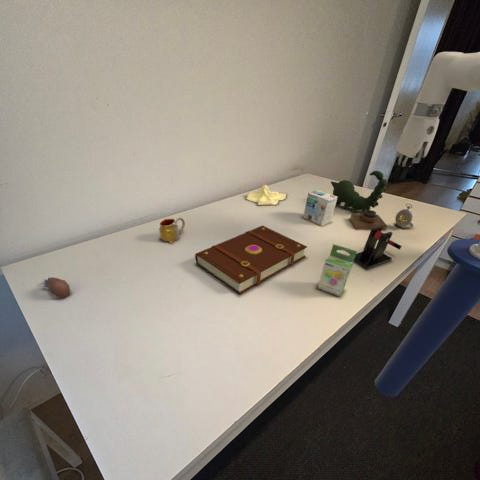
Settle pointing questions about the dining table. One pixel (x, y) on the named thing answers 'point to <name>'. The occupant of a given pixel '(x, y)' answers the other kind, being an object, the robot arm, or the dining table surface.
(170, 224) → the mug
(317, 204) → the light bulb box
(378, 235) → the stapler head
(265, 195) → the cloth
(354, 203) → the toy figurine
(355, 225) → the button block
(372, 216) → the button
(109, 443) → the dining table surface
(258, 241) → the book
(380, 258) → the black lever stand
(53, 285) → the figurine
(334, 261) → the ink box
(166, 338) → the dining table surface
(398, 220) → the pocket watch
